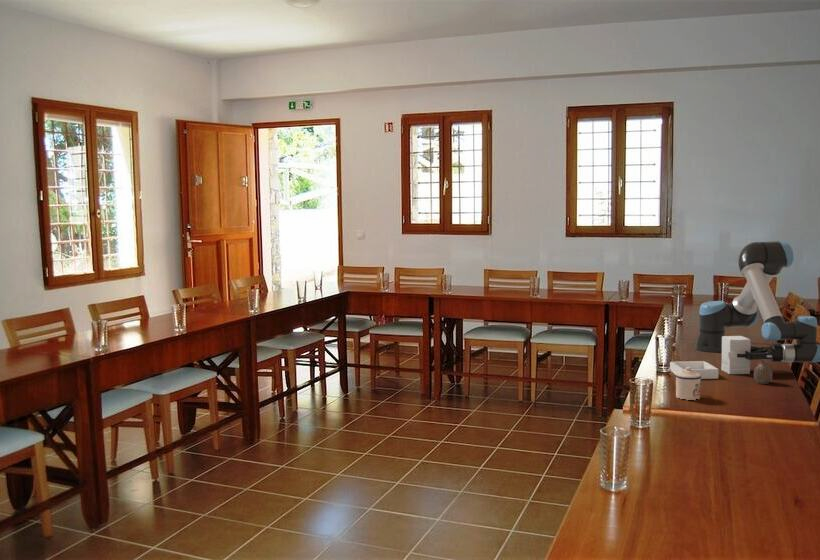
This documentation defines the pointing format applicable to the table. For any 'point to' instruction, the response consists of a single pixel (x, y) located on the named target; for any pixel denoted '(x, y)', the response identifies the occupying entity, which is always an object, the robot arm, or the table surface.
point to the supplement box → (735, 346)
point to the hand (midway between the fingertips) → (725, 352)
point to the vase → (763, 373)
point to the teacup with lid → (688, 384)
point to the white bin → (696, 368)
